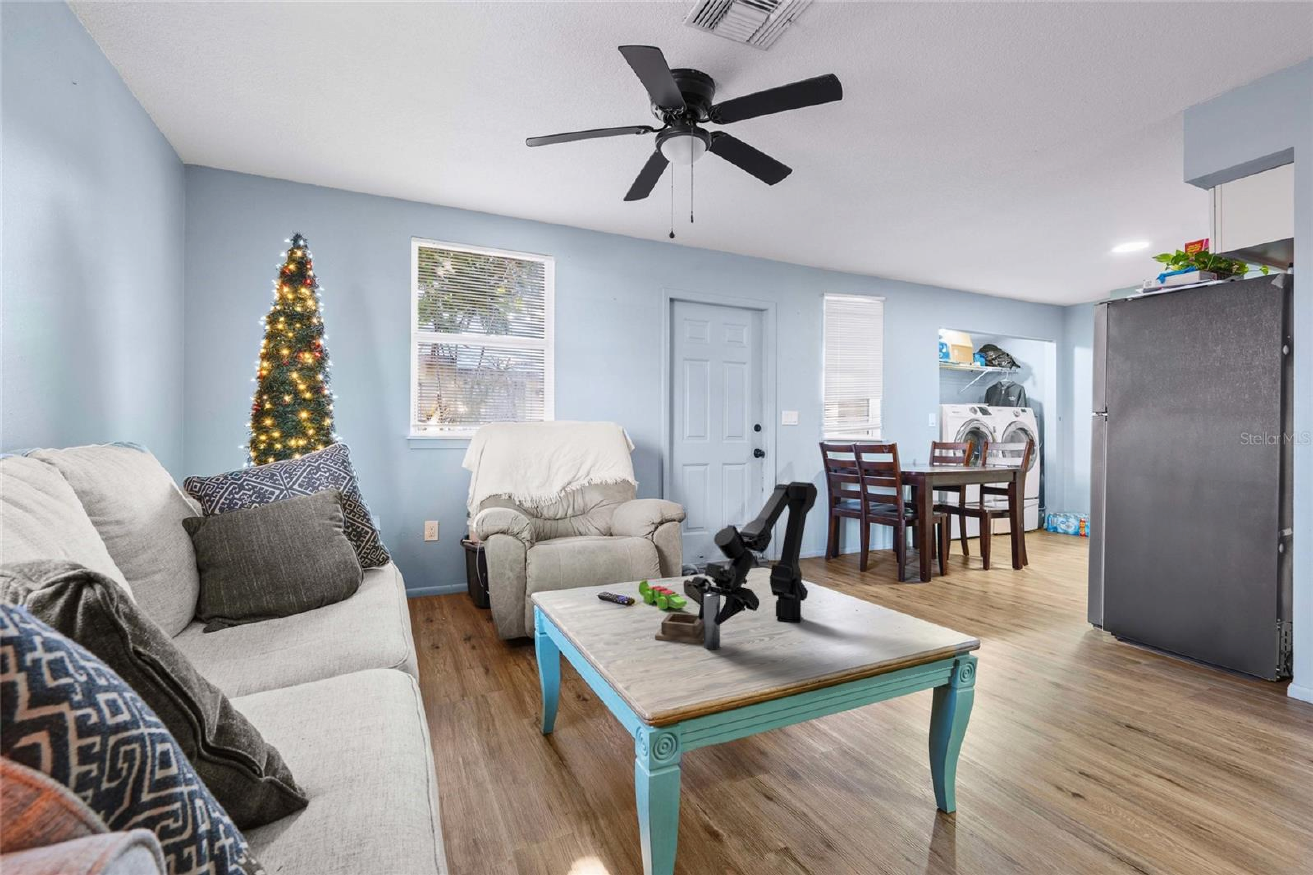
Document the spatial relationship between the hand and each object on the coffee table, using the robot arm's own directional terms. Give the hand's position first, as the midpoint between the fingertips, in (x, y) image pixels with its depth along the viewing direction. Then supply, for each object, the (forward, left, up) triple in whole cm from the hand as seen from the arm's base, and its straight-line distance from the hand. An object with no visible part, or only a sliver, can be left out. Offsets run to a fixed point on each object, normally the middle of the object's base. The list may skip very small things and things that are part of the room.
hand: (708, 621), depth 146 cm
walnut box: (+8, -9, -7) cm, 14 cm away
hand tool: (+12, -42, -7) cm, 44 cm away
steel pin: (-1, -1, -7) cm, 7 cm away
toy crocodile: (+21, -33, -7) cm, 39 cm away
